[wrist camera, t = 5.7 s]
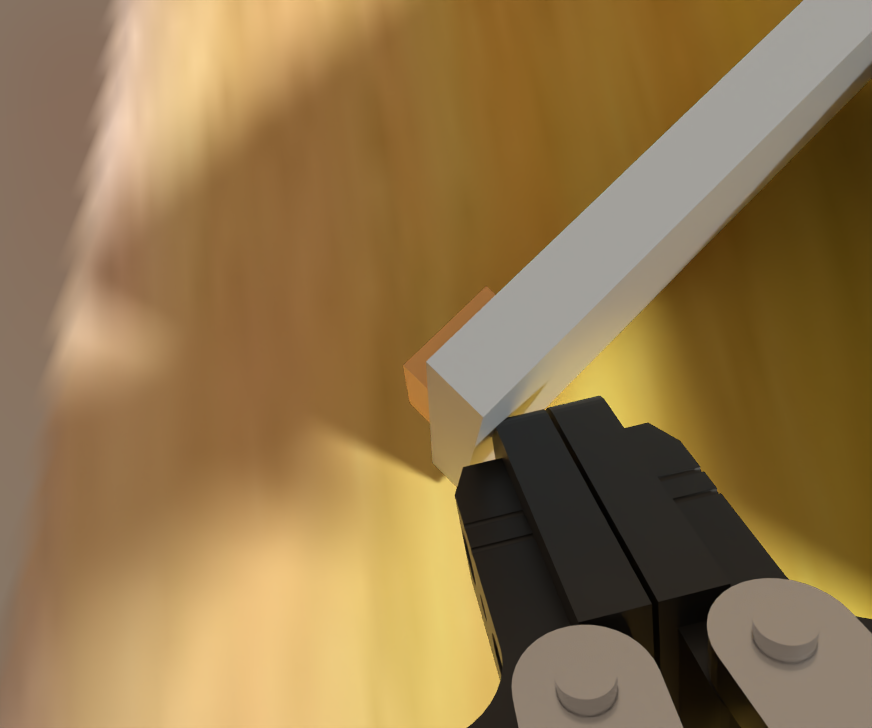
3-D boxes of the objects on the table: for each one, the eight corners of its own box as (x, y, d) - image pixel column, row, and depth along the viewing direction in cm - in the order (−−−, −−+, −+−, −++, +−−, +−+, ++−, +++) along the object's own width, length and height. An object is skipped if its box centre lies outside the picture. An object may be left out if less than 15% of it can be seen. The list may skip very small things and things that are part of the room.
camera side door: (890, 61, 17) (1215, -305, 10) (463, 494, 15) (486, 420, 8) (835, 19, 18) (1110, -367, 10) (406, 437, 15) (378, 314, 8)
